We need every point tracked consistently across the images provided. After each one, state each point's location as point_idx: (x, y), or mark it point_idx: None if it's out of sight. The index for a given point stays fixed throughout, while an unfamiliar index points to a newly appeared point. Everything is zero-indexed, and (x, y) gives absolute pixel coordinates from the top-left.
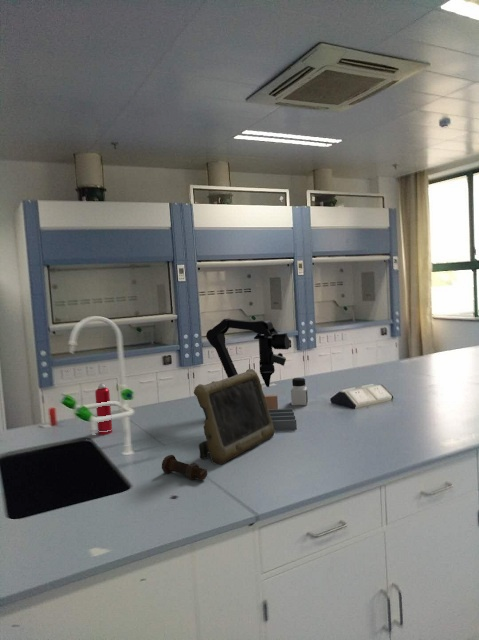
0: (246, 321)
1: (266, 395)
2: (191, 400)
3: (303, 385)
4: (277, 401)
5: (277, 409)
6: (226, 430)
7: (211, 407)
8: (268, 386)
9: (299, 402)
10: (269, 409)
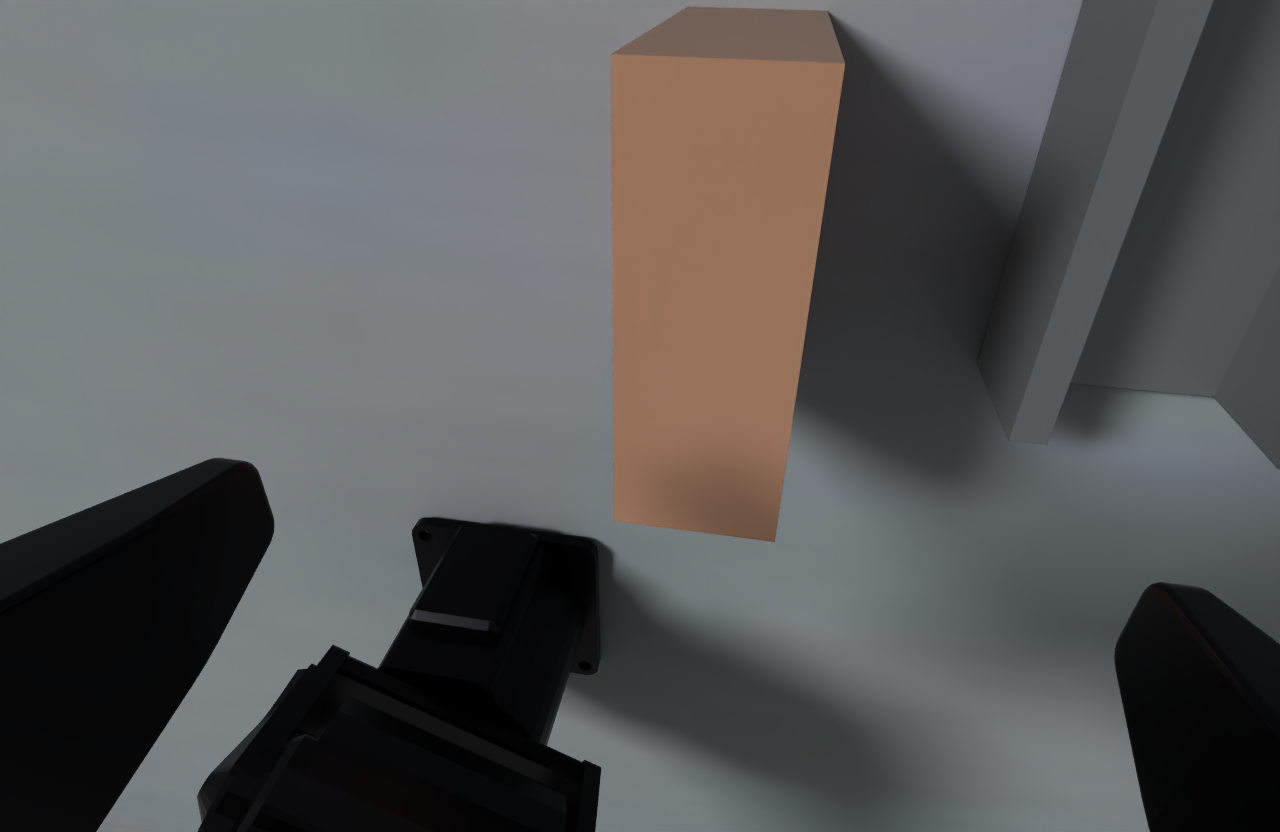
0: None
1: (667, 370)
2: (165, 823)
3: None
4: (836, 44)
5: (1177, 68)
6: None
7: None
8: (1204, 619)
9: None
10: (1074, 259)
